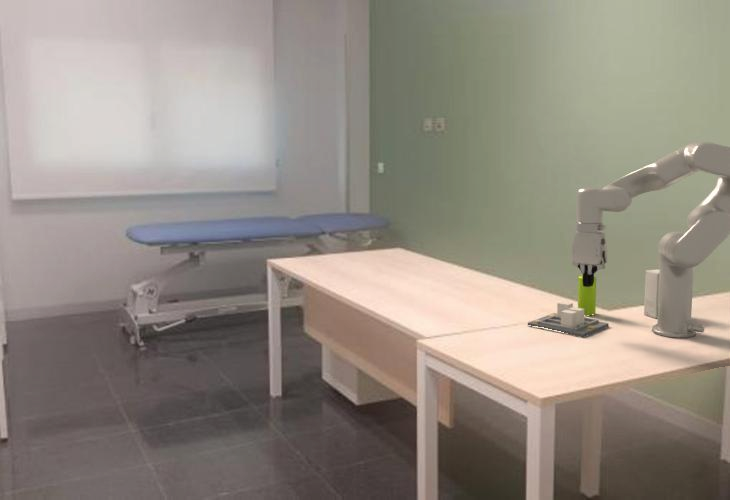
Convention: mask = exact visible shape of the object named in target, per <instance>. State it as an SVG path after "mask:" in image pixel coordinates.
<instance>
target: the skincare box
mask: <svg viewBox="0 0 730 500" xmlns="http://www.w3.org/2000/svg"><path fill="white" fill-rule="evenodd" d="M658 297H659V269H648V270H647V269H646V270H645V283H644V305H643V314H644V315H645V316H646V317H651V318H654V319H658Z"/></svg>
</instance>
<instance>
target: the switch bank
mask: <svg viewBox="0 0 730 500" xmlns="http://www.w3.org/2000/svg"><path fill="white" fill-rule="evenodd" d="M528 325H531V326H538V327H544V328H548V329H552V330H557V331H561V332H564V333H568V334H572V335H571V336H573V335H575V336H574V337H578V336H580V337H579V338H585V336H586V337H588V336H590V335H593V334H595V333H597V332H600V331H601V329H602V330H604V328H605V329H607V328H609V325H610V324H609V322H604V321H600V320H599V319H596V318H591V317H587V316H584V324H583V325H579V324H577V327H576V328H572V327H567V326H562V325H561V317H559V316H557V312H556V313H555V312H554V313H550V314H548V315H545V316H542V317H540V318H537V319H534V320H531V321H528V322H527V326H528ZM599 330H600V331H599ZM596 331H597V332H596ZM594 332H595V333H594ZM592 333H593V334H592ZM568 334H567V335H568ZM587 335H588V336H587Z"/></svg>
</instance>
